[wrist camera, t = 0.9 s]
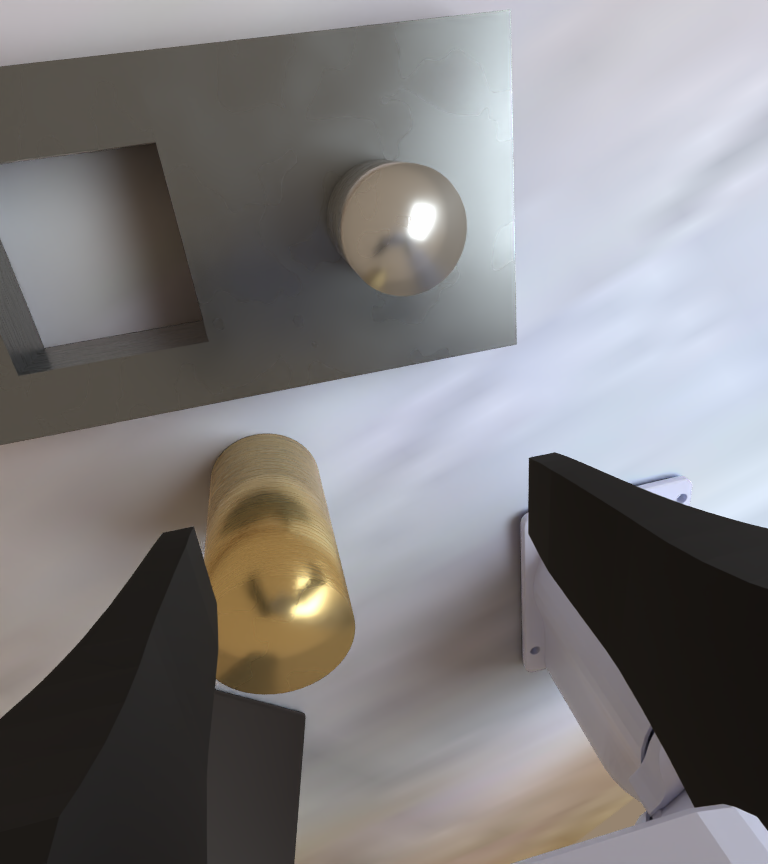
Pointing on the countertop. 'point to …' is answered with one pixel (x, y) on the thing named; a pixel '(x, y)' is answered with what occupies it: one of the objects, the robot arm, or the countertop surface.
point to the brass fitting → (274, 569)
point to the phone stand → (253, 781)
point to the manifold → (283, 211)
